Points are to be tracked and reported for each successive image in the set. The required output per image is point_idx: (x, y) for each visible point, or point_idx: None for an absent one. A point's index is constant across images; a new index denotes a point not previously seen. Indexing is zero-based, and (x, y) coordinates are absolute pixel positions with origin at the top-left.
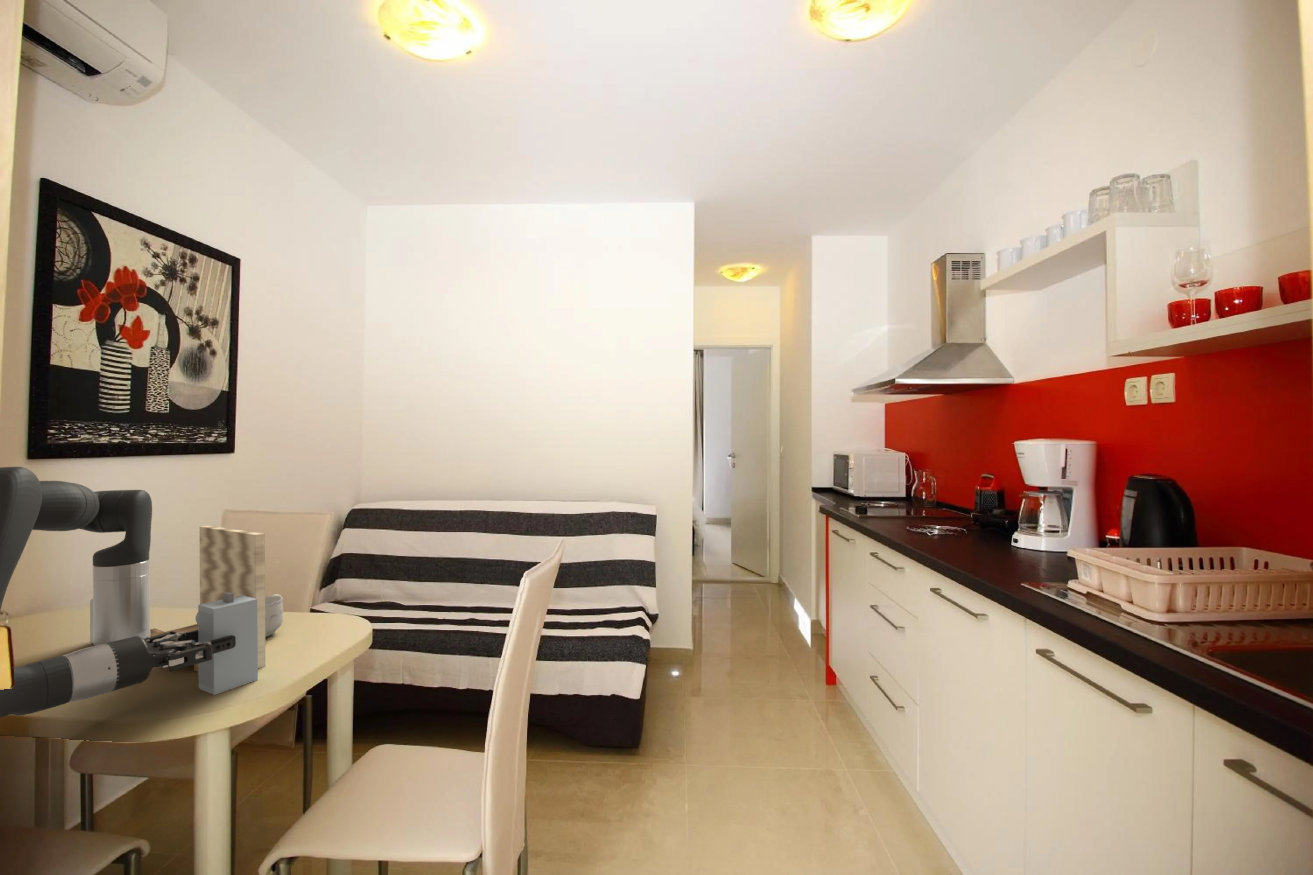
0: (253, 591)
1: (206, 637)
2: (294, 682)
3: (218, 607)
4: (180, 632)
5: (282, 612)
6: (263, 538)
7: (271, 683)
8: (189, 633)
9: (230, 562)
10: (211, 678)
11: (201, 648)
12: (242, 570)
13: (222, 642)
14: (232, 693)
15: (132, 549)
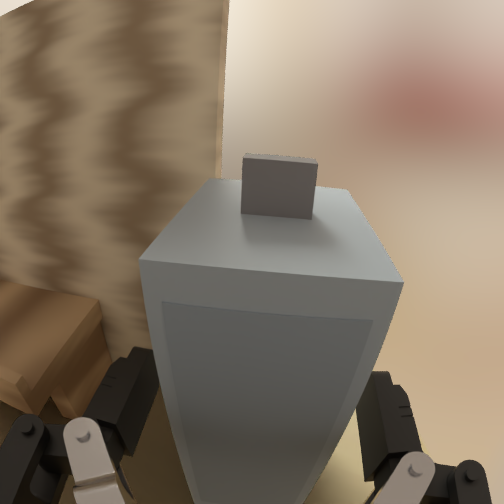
0: (196, 166)
1: (264, 427)
2: None
3: (376, 261)
4: (82, 432)
5: None
6: None
7: (353, 415)
8: (119, 419)
9: (54, 86)
10: (288, 500)
11: (489, 501)
12: (122, 96)
13: (413, 423)
14: (334, 487)
15: None
